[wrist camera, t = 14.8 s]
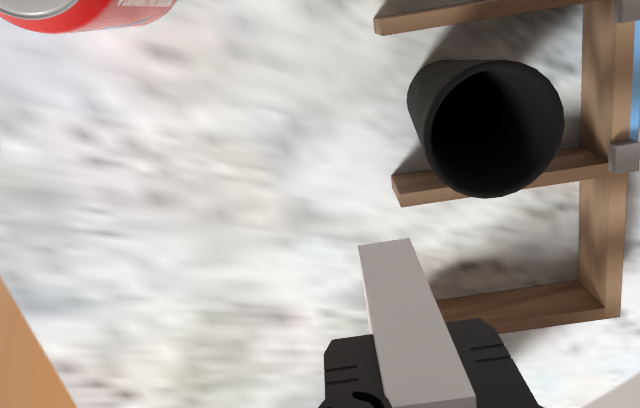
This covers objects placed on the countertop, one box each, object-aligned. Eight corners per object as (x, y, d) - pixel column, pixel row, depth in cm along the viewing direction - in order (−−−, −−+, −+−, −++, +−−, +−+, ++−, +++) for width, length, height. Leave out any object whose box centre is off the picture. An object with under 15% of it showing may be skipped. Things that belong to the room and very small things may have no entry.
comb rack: (373, 18, 38) (382, 19, 33) (609, -21, 37) (657, -26, 32) (406, 314, 46) (418, 352, 41) (598, 287, 46) (635, 323, 41)
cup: (494, 40, 38) (569, 52, 27) (493, 141, 41) (561, 191, 30) (389, 51, 39) (420, 69, 27) (395, 151, 41) (426, 205, 30)
